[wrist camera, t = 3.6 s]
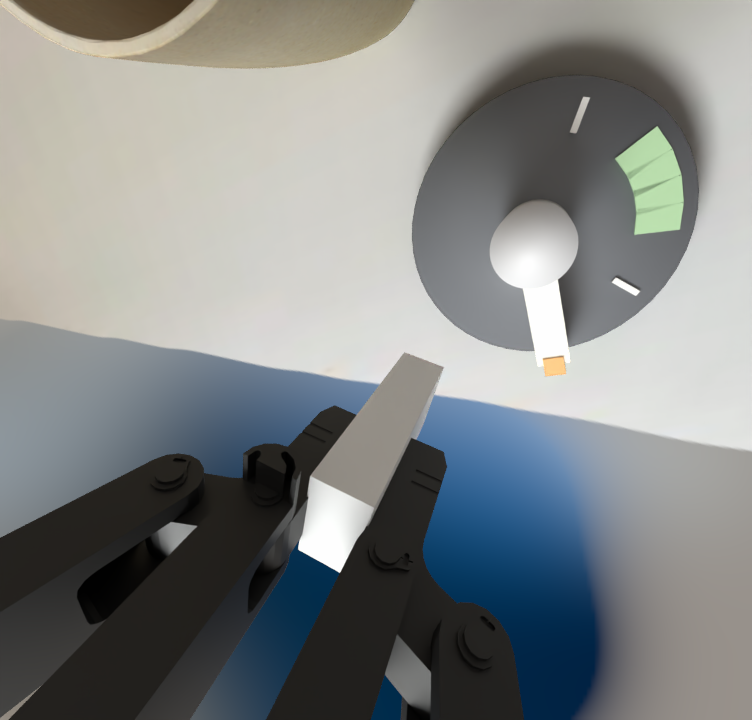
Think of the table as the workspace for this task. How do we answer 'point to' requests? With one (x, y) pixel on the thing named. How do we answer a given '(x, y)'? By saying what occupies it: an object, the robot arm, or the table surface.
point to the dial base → (568, 189)
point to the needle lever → (538, 272)
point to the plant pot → (213, 29)
